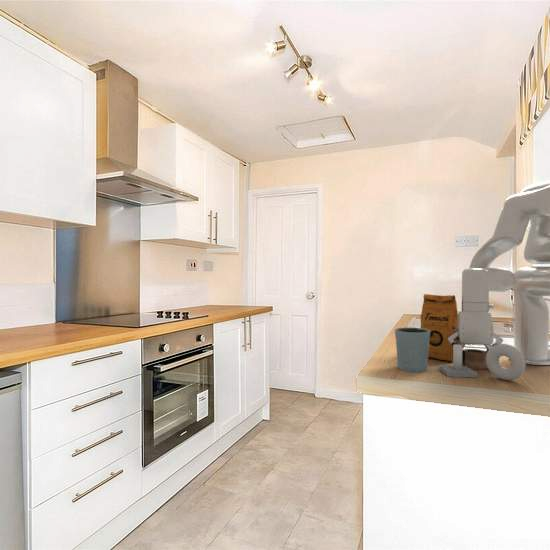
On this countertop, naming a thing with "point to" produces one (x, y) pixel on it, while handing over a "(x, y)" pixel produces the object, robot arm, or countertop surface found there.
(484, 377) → the countertop surface
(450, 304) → the coffee package
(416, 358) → the blue grey cup
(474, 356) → the ring
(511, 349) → the donut
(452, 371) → the peg stand
